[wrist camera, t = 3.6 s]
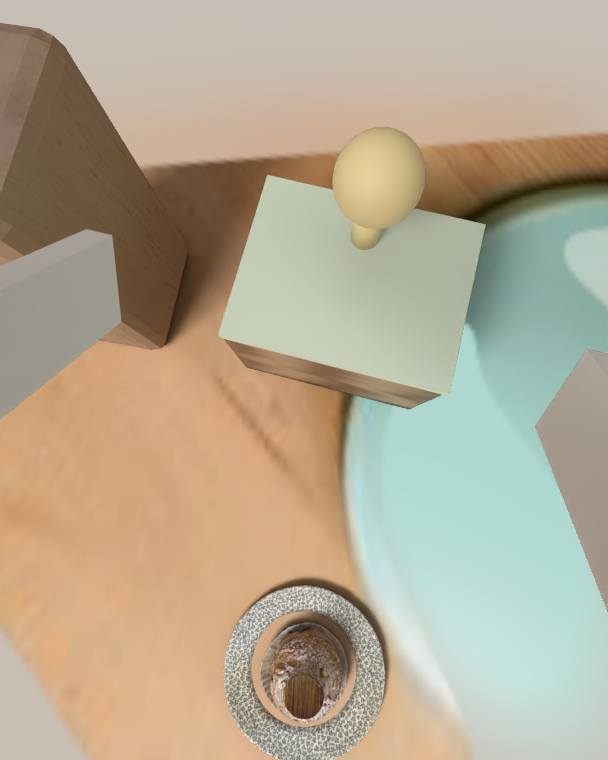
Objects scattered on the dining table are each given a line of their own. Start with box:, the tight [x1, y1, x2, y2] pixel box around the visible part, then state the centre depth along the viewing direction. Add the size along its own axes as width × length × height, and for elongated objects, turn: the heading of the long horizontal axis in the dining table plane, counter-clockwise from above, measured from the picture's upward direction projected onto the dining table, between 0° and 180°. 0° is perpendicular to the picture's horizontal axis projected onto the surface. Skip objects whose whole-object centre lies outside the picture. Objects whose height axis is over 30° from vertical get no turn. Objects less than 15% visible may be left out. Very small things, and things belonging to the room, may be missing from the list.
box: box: [224, 339, 441, 409], centre depth 31 cm, size 14×11×9 cm
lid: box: [218, 127, 486, 395], centre depth 23 cm, size 14×11×9 cm
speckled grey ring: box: [224, 585, 386, 760], centre depth 30 cm, size 12×12×5 cm
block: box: [0, 23, 188, 350], centre depth 27 cm, size 10×10×20 cm
